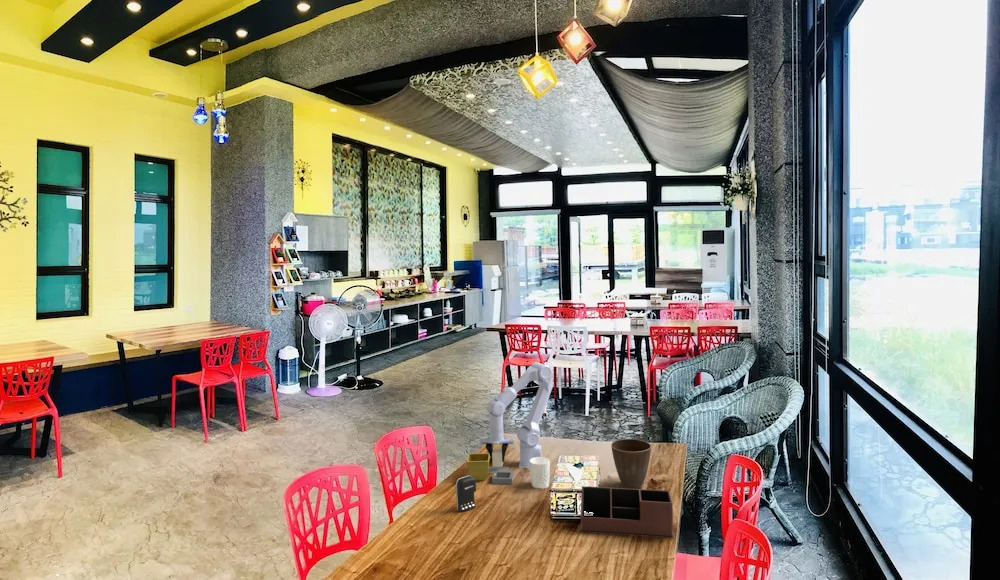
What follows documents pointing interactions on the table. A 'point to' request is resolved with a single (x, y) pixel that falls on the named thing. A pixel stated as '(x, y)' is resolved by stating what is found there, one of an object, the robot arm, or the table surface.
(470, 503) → the battery charger
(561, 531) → the table surface
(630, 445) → the plant pot
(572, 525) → the table surface
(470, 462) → the flower pot
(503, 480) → the socket housing
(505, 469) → the mat
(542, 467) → the white cup
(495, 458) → the plug
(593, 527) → the desk organizer
